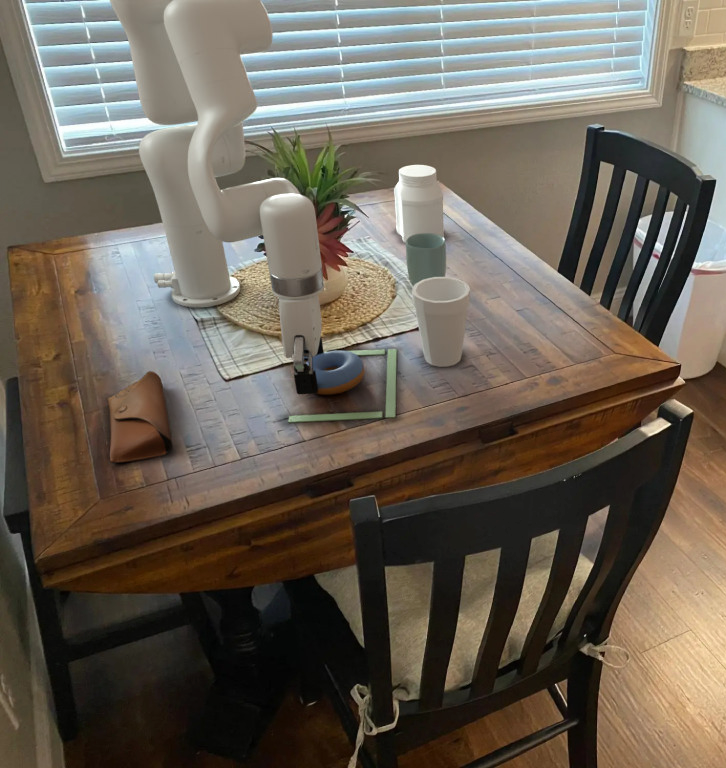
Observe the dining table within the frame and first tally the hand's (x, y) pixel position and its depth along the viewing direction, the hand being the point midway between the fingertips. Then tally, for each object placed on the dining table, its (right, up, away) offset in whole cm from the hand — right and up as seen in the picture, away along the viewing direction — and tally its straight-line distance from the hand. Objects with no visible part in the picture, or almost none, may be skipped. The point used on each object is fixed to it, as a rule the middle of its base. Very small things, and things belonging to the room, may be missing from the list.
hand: (311, 375), depth 121 cm
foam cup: (+20, +3, +9) cm, 23 cm away
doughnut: (+3, -1, +1) cm, 4 cm away
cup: (+15, +18, +31) cm, 39 cm away
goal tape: (+4, -1, +1) cm, 5 cm away
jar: (+11, +33, +53) cm, 64 cm away
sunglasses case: (-23, -8, -9) cm, 26 cm away
